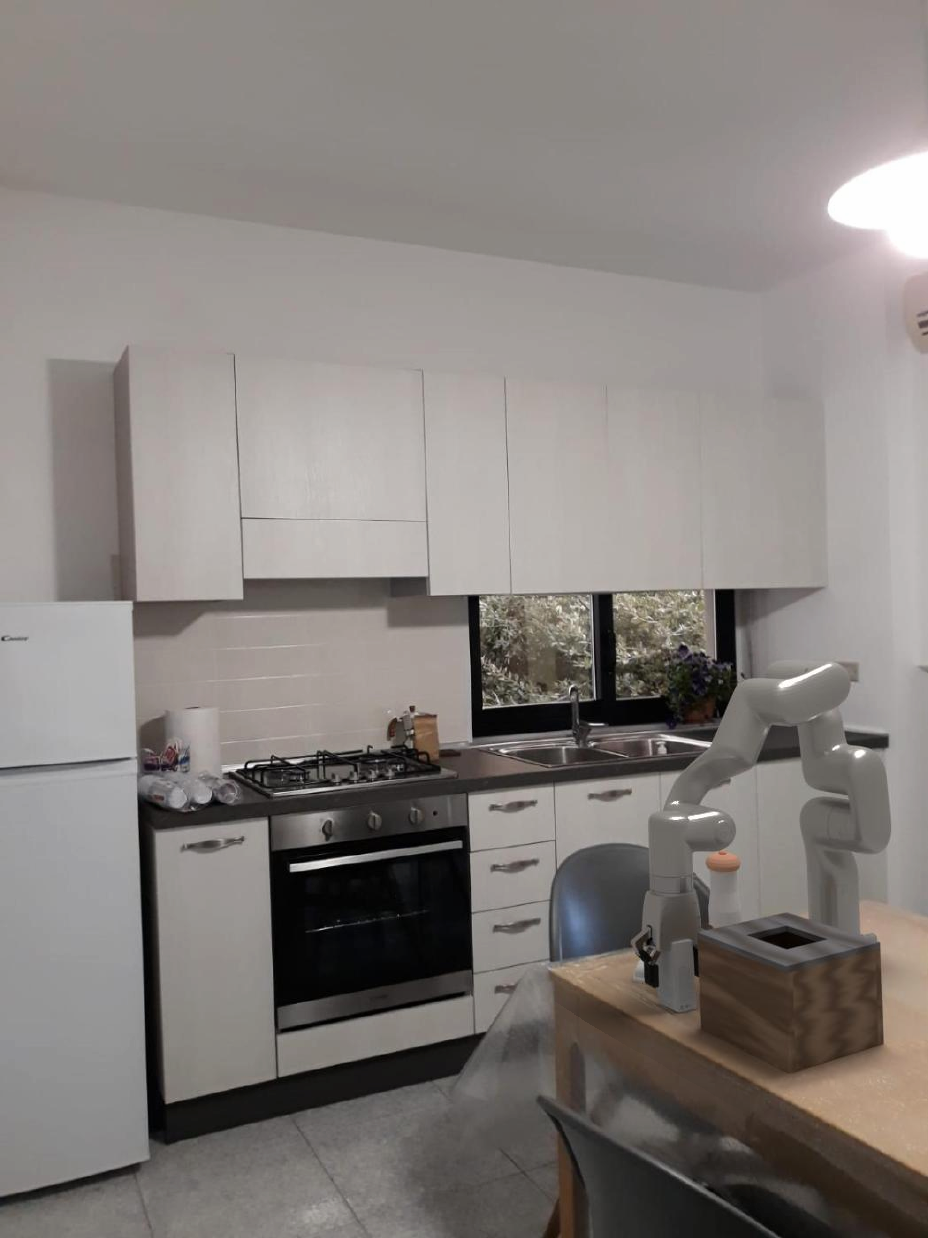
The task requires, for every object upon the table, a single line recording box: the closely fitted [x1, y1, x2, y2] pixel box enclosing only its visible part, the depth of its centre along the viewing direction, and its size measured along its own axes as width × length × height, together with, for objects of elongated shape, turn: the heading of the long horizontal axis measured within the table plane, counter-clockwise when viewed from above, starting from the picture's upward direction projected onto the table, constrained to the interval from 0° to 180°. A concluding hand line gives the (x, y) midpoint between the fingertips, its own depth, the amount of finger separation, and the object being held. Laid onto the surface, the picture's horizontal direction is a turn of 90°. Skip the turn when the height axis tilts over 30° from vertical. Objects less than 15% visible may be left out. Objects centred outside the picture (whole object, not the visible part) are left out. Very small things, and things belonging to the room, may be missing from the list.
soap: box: [632, 958, 656, 984], centre depth 200 cm, size 9×7×3 cm
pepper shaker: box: [705, 849, 742, 929], centre depth 218 cm, size 7×7×19 cm
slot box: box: [697, 912, 885, 1074], centre depth 170 cm, size 20×20×16 cm
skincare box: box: [656, 939, 697, 1013], centre depth 184 cm, size 6×4×12 cm
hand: (674, 980), depth 184 cm, fingers open, 9 cm apart
